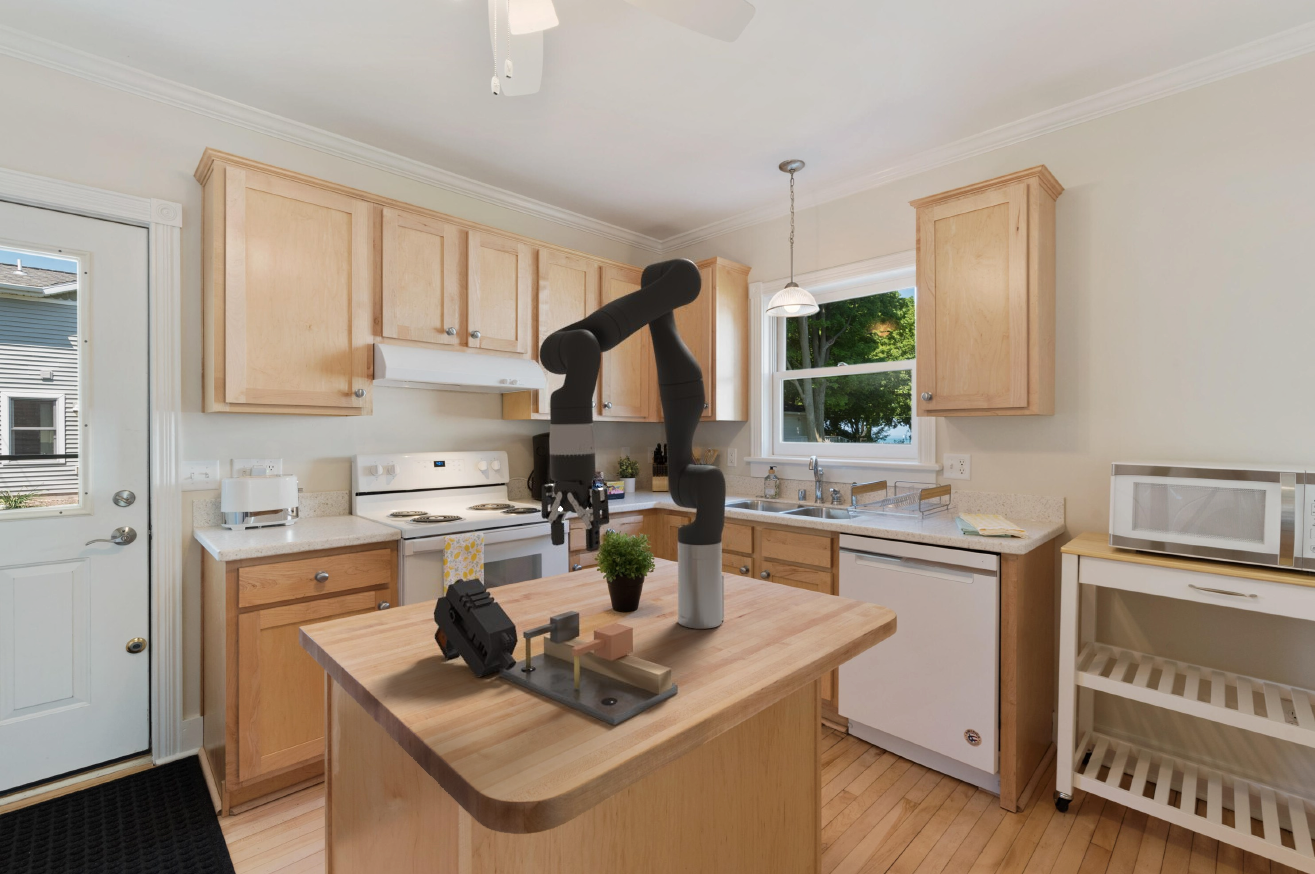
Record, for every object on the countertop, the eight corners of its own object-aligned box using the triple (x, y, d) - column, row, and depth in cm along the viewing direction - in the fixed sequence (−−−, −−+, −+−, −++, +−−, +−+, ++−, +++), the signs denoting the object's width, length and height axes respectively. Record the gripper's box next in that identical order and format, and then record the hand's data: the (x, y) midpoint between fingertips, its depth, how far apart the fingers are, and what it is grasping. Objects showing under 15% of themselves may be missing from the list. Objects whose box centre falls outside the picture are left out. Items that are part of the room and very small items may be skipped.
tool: (452, 630, 118) (474, 568, 113) (507, 705, 107) (534, 639, 102) (422, 639, 113) (444, 574, 108) (476, 718, 103) (503, 650, 98)
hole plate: (563, 652, 114) (563, 645, 114) (677, 692, 96) (677, 684, 96) (498, 675, 103) (498, 668, 103) (614, 725, 86) (614, 716, 86)
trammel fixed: (561, 646, 114) (560, 607, 113) (675, 685, 96) (675, 639, 96) (511, 664, 105) (510, 622, 105) (626, 710, 88) (626, 660, 88)
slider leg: (615, 663, 104) (615, 622, 104) (633, 669, 102) (632, 627, 102) (565, 684, 96) (565, 640, 96) (583, 691, 93) (583, 645, 93)
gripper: (618, 450, 102) (621, 549, 102) (561, 449, 111) (564, 539, 111) (585, 453, 96) (587, 557, 96) (527, 451, 105) (530, 546, 106)
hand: (574, 547), depth 104 cm, fingers open, 8 cm apart
